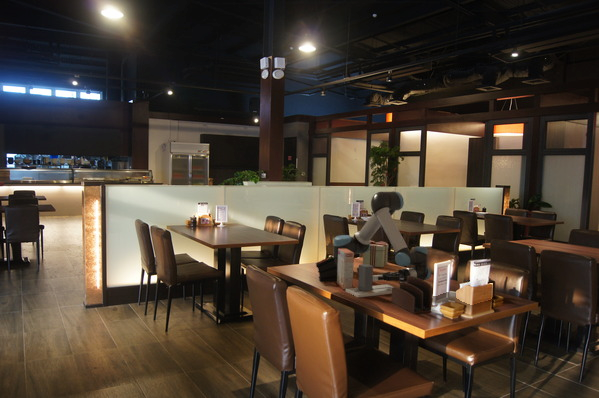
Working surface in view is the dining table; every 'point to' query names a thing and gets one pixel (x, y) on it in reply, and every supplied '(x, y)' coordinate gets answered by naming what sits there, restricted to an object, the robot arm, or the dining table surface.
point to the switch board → (376, 291)
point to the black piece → (327, 270)
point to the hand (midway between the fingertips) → (372, 278)
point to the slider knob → (365, 277)
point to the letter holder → (413, 295)
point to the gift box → (376, 254)
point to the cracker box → (345, 268)
